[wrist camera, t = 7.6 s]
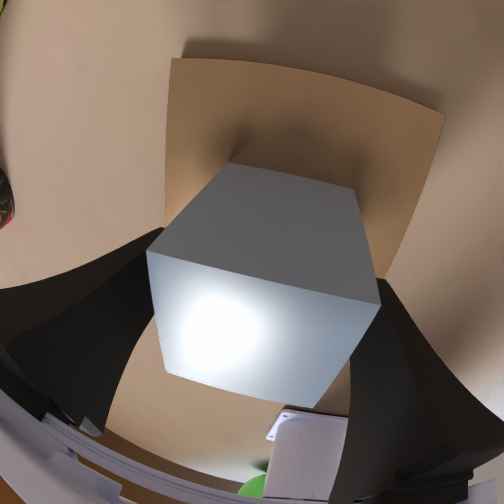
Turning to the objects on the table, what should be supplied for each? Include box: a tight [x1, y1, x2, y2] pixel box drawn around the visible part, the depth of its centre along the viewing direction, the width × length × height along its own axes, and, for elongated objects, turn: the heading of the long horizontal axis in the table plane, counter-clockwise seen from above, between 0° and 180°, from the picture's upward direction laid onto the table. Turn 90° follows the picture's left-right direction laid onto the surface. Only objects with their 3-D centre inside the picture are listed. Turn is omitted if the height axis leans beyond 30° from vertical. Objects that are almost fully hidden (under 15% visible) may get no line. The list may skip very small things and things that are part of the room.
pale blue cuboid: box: [146, 162, 381, 408], centre depth 10 cm, size 5×5×7 cm
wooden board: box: [165, 58, 445, 279], centre depth 11 cm, size 14×11×6 cm
